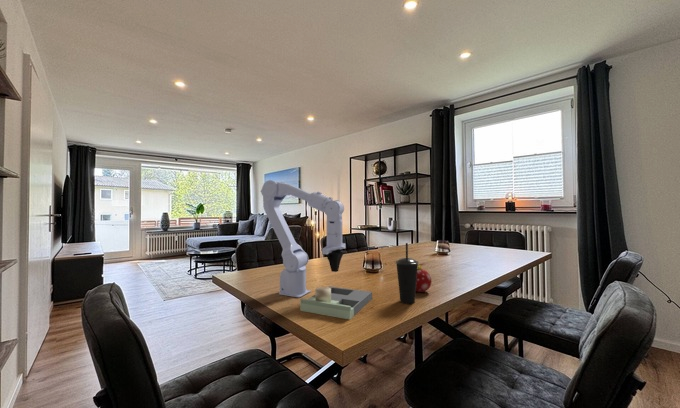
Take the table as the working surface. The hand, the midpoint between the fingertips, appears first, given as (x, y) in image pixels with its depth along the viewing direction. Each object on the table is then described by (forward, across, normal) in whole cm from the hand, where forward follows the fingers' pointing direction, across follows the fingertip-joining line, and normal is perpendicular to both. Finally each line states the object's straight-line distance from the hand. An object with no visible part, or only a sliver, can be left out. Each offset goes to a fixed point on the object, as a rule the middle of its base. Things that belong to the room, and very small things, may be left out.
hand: (334, 271), depth 101 cm
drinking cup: (+10, +6, -25) cm, 27 cm away
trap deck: (+9, -6, -4) cm, 12 cm away
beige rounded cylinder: (+7, -12, -2) cm, 14 cm away
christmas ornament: (+10, +20, -26) cm, 34 cm away
